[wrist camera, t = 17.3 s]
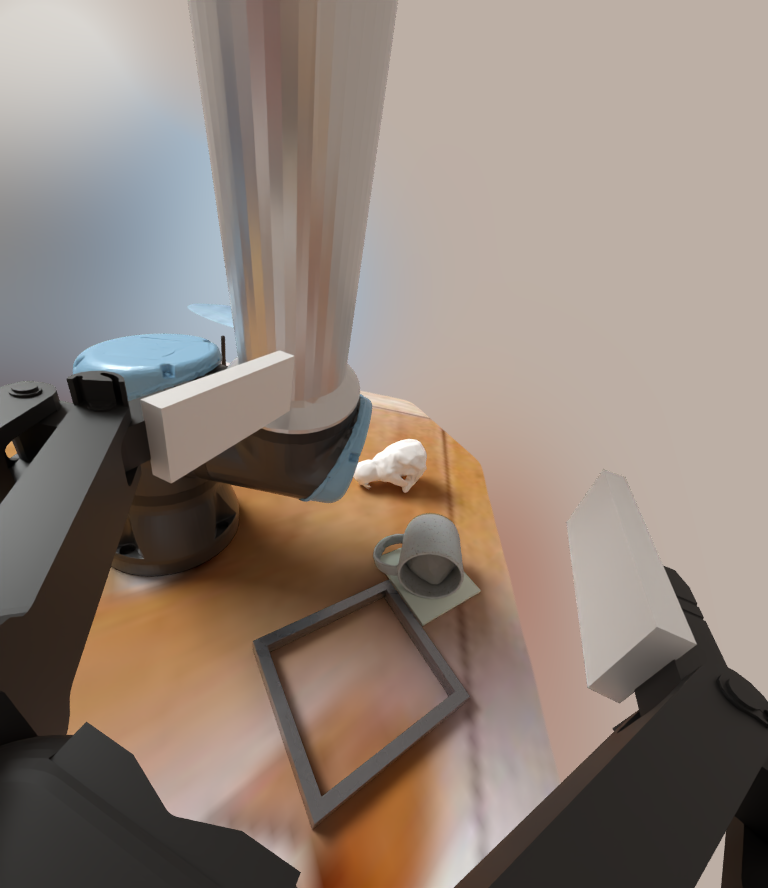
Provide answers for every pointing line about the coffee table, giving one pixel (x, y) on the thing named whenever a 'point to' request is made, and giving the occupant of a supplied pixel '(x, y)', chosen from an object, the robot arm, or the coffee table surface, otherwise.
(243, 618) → the coffee table surface
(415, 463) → the white figurine
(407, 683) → the coffee table surface
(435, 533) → the ceramic mug
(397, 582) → the grey-green mat
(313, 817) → the square frame
